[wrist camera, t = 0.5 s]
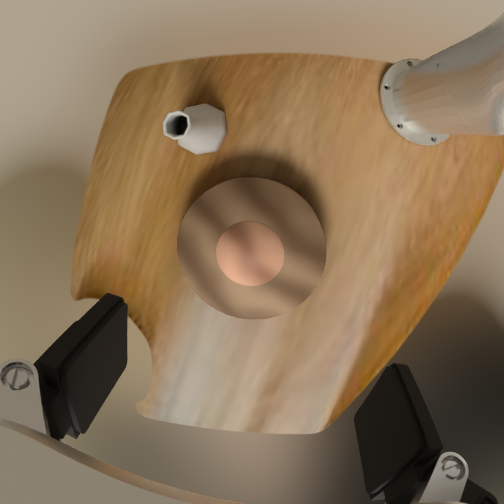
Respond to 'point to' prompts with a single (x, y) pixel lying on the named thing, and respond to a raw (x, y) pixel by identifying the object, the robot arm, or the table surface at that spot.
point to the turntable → (251, 248)
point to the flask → (197, 128)
